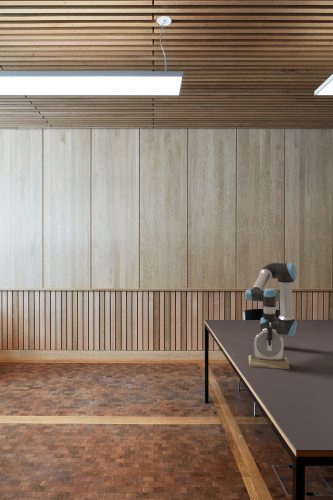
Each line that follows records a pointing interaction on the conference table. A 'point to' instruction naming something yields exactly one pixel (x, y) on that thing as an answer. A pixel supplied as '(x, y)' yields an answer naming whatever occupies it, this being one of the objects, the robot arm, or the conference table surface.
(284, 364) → the tray
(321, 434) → the conference table surface
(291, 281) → the robot arm
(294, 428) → the conference table surface
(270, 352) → the alarm clock
